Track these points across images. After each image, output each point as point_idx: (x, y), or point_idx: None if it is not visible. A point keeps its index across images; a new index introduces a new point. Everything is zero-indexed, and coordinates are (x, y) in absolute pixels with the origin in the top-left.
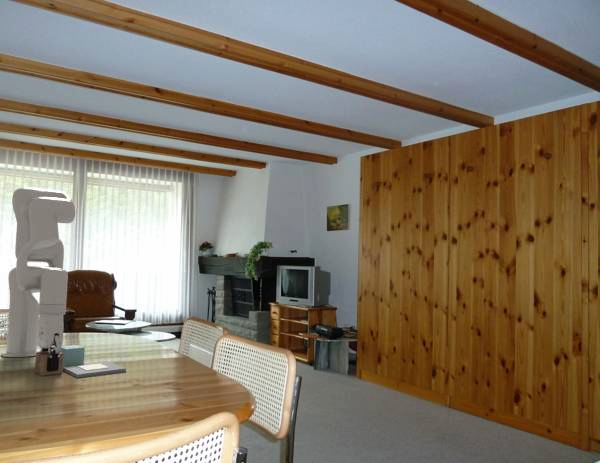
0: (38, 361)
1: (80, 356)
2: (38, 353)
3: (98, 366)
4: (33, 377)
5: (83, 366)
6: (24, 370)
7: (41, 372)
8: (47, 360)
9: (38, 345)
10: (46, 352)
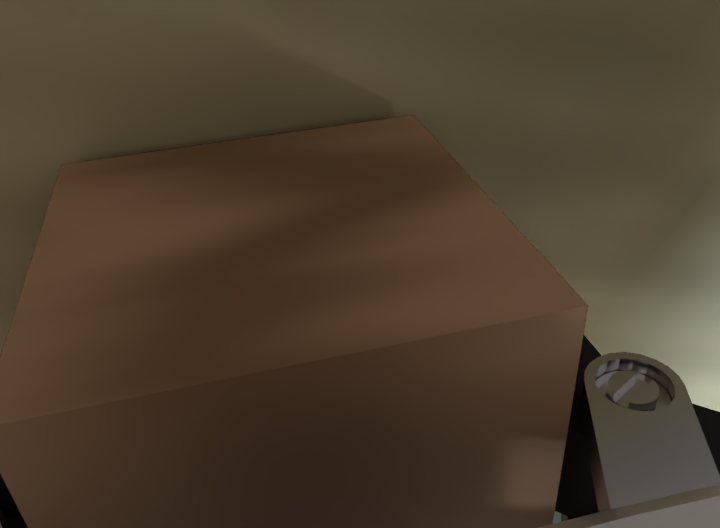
0: (289, 241)
1: None
2: (375, 348)
3: None
4: (57, 32)
5: None
6: (692, 4)
7: (55, 191)
8: None
9: (636, 508)
10: (411, 497)
